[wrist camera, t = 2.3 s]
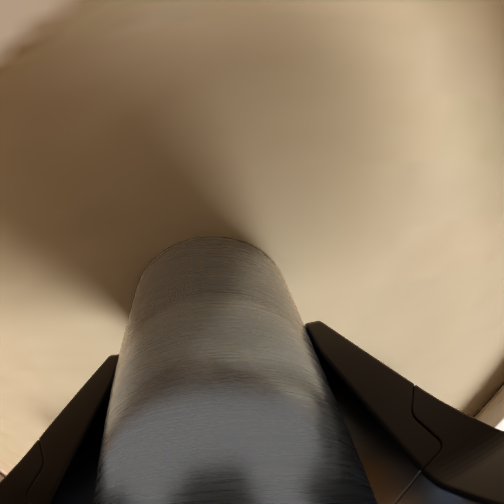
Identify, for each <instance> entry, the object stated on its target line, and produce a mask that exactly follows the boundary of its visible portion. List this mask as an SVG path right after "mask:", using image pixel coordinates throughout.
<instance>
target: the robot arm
mask: <svg viewBox="0 0 504 504" xmlns="http://www.w3.org/2000/svg"><path fill="white" fill-rule="evenodd" d="M305 329H306V331H307V333H308V336H309V338H310V340H311V343H312V345H313V347H314V350H315V352H316V354H317V357H318V359H319V361H320V364H321V366H322V368H323V371H324V373H325V375H326V378H327V380H328V383H329V385H330V387H331V390H332V392H333V394H334V397H335V399H336V402H337V404H338V406H339V409H340V411H341V414H342V416H343V418H344V421H345V423H346V426H347V428H348V430H349V433H350V435H351V438H352V440H353V443H354V445H355V447H356V450H357V452H358V455H359V457H360V460H361V462H362V465H363V467H364V470H365V472H366V475H367V477H368V480H369V482H370V485H371V487H372V490H373V492H374V495H375V497H376V500H377V502H378V504H504V431H502V430H499V429H497V428H494V427H492V426H490V425H488V424H486V423H484V422H482V421H480V420H477V419H475V418H473V417H471V416H469V415H467V414H465V413H463V412H461V411H459V410H457V409H455V408H453V407H451V406H449V405H448V404H446V403H444V402H442V401H440V400H439V399H437V398H435V397H434V396H432V395H431V394H429V393H427V392H426V391H424V390H423V389H421V388H420V387H418V386H417V385H415V386H414V384H413V383H412V382H410V381H409V380H407V379H406V378H404V377H403V376H401V375H400V374H398V373H397V372H395V371H394V370H392V369H391V368H389V367H388V366H386V365H385V364H383V363H382V362H380V361H379V360H377V359H376V358H374V357H373V356H371V355H370V354H368V353H367V352H365V351H364V350H362V349H361V348H359V347H358V346H356V345H355V344H353V343H352V342H351V341H349V340H348V339H346V338H345V337H343V336H342V335H340V334H339V333H337V332H336V331H334V330H333V329H331V328H330V327H328V326H327V325H326V324H324V323H323V322H321V321H315V322H310V323H306V324H305ZM118 358H119V354H118V355H111V356H109V357H108V358H107V359H106V361H105V362H104V363H103V364H102V365H101V366H100V367H99V368H98V370H97V371H96V372H95V373H94V374H93V375H92V377H91V378H90V379H89V380H88V381H87V382H86V383H85V385H84V386H83V387H82V388H81V389H80V390H79V392H78V393H77V394H76V395H75V396H74V397H73V399H72V400H71V401H70V402H69V403H68V404H67V406H66V407H65V408H64V409H63V410H62V412H61V413H60V414H59V415H58V416H57V418H56V419H55V420H54V421H53V422H52V424H51V425H50V426H49V427H48V428H47V430H46V431H45V432H44V433H43V434H42V436H41V437H40V438H39V440H37V442H36V443H35V444H34V445H33V446H32V448H31V449H30V450H29V451H28V452H27V454H26V455H25V456H24V457H23V458H22V460H21V461H20V462H19V463H18V464H17V465H16V466H15V467H14V468H13V469H12V470H11V471H10V472H9V474H8V475H7V476H6V477H5V478H4V479H3V480H2V481H1V482H0V504H94V496H95V487H96V478H97V471H98V463H99V456H100V450H101V443H102V437H103V431H104V426H105V420H106V415H107V409H108V404H109V399H110V394H111V389H112V385H113V380H114V375H115V371H116V366H117V362H118Z"/></svg>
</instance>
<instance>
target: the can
mask: <svg viewBox="0 0 504 504" xmlns="http://www.w3.org/2000/svg"><path fill="white" fill-rule="evenodd" d="M94 504H378V502H377V500H376V497H375V495H374V492H373V490H372V487H371V485H370V482H369V480H368V477H367V475H366V472H365V470H364V467H363V465H362V462H361V460H360V457H359V455H358V452H357V450H356V447H355V445H354V443H353V440H352V438H351V435H350V433H349V430H348V428H347V426H346V423H345V421H344V418H343V416H342V414H341V411H340V409H339V406H338V404H337V402H336V399H335V397H334V394H333V392H332V390H331V387H330V385H329V383H328V380H327V378H326V375H325V373H324V371H323V368H322V366H321V364H320V361H319V359H318V357H317V354H316V352H315V350H314V347H313V345H312V343H311V340H310V338H309V336H308V333H307V331H306V329H305V326H304V324H303V322H302V319H301V317H300V315H299V312H298V310H297V308H296V306H295V303H294V301H293V299H292V296H291V294H290V292H289V290H288V287H287V285H286V283H285V280H284V278H283V276H282V274H281V272H280V270H279V269H278V268H277V266H276V265H275V263H274V262H273V261H272V260H271V259H270V258H269V257H268V256H267V255H265V254H264V253H263V252H261V251H260V250H258V249H257V248H255V247H253V246H251V245H249V244H247V243H244V242H241V241H238V240H234V239H230V238H223V237H201V238H194V239H190V240H186V241H183V242H181V243H178V244H176V245H173V246H172V247H170V248H168V249H166V250H165V251H163V252H162V253H160V254H159V255H158V256H157V257H156V258H155V259H154V260H152V261H151V262H150V264H149V265H148V266H147V268H146V269H145V270H144V272H143V274H142V276H141V278H140V280H139V283H138V286H137V289H136V293H135V296H134V300H133V303H132V307H131V311H130V314H129V318H128V322H127V326H126V329H125V333H124V337H123V341H122V345H121V349H120V354H119V358H118V362H117V366H116V371H115V375H114V380H113V385H112V389H111V394H110V399H109V404H108V409H107V415H106V420H105V426H104V431H103V437H102V443H101V450H100V456H99V463H98V471H97V478H96V487H95V496H94Z"/></svg>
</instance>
